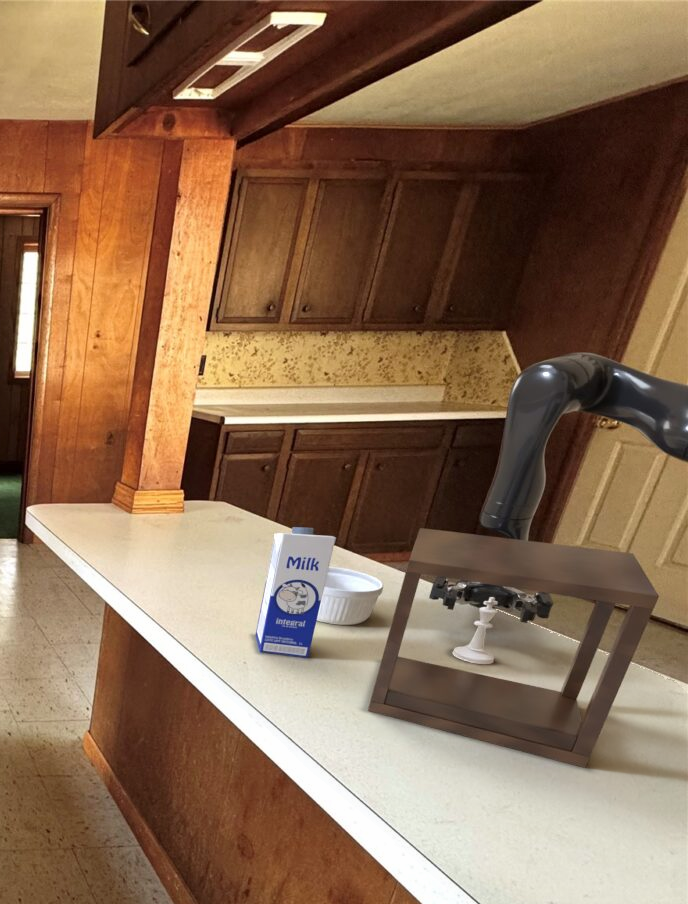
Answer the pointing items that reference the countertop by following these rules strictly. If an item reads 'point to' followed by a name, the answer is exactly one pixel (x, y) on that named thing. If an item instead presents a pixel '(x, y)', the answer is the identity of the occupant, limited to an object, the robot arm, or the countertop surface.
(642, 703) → the countertop surface
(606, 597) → the rack
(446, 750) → the countertop surface
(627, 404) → the robot arm
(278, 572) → the milk carton
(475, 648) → the chess piece
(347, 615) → the ramekin
